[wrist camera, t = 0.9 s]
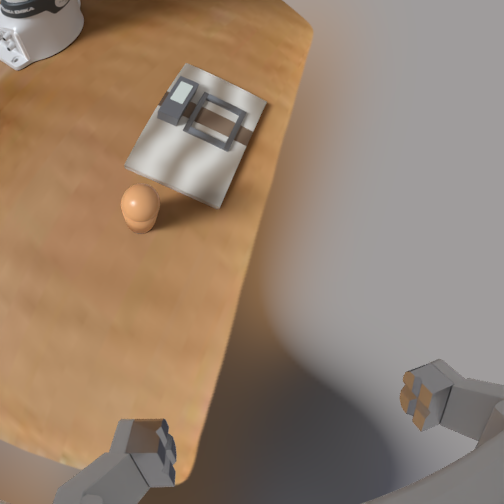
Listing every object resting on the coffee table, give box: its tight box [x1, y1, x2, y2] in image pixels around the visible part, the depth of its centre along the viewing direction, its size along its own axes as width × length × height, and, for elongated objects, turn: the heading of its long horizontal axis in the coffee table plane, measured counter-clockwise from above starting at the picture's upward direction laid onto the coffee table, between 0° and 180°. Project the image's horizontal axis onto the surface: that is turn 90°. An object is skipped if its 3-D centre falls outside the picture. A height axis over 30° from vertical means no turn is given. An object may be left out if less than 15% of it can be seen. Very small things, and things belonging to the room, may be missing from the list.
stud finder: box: [157, 76, 199, 126], centre depth 41 cm, size 3×7×2 cm, turn 158°
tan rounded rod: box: [121, 183, 160, 234], centre depth 34 cm, size 4×4×15 cm
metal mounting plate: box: [124, 63, 267, 209], centre depth 44 cm, size 15×20×2 cm
